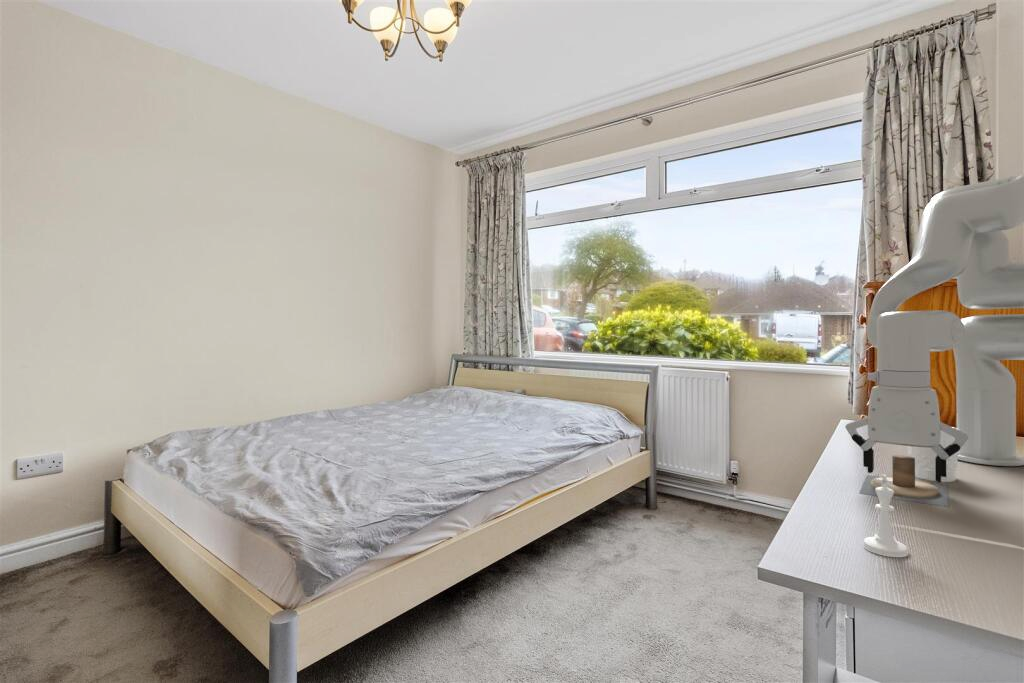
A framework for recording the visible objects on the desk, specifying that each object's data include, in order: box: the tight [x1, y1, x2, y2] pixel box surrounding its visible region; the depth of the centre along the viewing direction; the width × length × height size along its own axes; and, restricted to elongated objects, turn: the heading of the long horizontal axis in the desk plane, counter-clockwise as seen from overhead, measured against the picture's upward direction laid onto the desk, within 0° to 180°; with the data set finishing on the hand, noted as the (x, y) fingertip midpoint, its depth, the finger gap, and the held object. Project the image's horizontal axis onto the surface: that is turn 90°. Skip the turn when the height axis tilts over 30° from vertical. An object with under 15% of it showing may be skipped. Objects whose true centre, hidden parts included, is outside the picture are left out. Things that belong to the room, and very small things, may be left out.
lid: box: [871, 454, 939, 498], centre depth 90 cm, size 10×10×6 cm
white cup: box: [907, 426, 959, 483], centre depth 98 cm, size 8×8×10 cm
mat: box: [858, 474, 950, 508], centre depth 91 cm, size 14×12×1 cm
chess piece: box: [862, 473, 909, 558], centre depth 67 cm, size 5×5×10 cm
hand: (903, 475), depth 90 cm, fingers open, 9 cm apart
